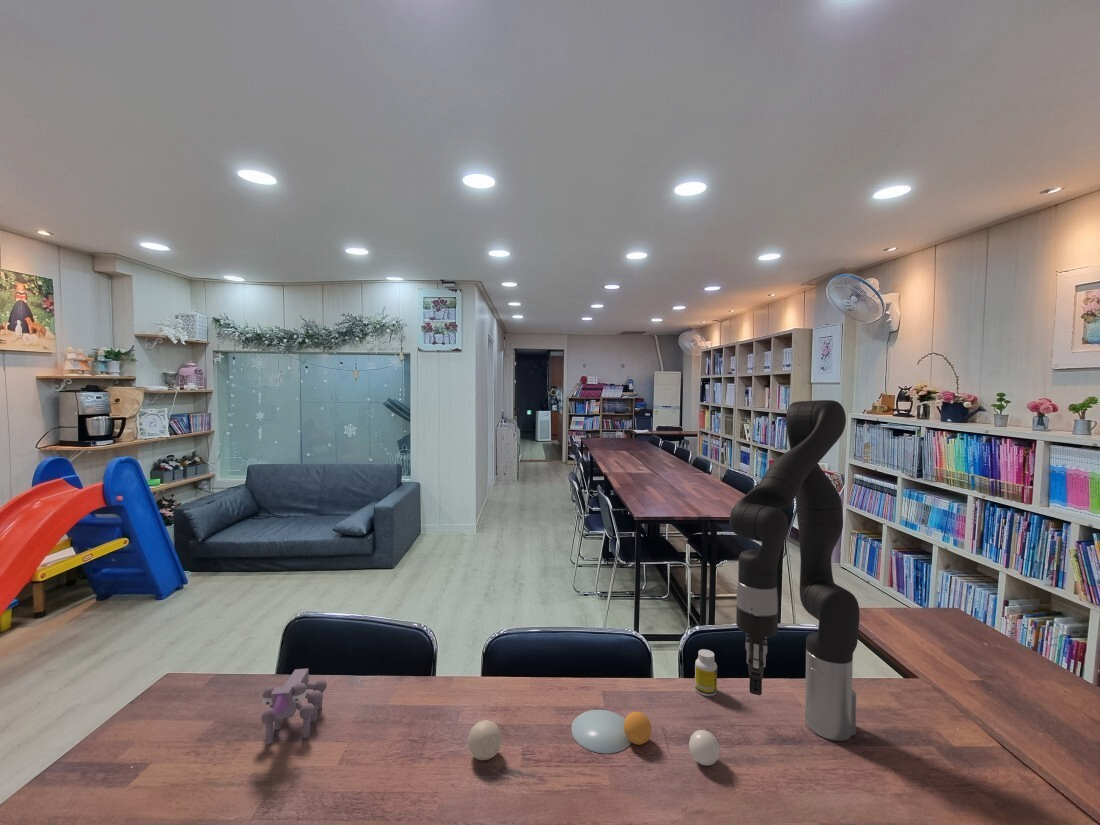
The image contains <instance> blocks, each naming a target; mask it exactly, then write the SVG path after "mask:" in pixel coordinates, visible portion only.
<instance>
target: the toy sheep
mask: <svg viewBox="0 0 1100 825" xmlns="http://www.w3.org/2000/svg"><path fill="white" fill-rule="evenodd" d="M309 676H310V675H309V668H296V669H294V670H293V672H292V673H291V675H290V677H289V678H288V680H287V681H286V683H284V684H283V685H281V686H276V685H269V686H268V687H266V688H265V689H264V690H263V692H262V703H263V704H264V705H266V706H269V708H266V709H265V710H264V711H263V712H262V714H261V716H260V719H261V723H263V724H264V725H265V745H270V744H273V743H274V731H278V730H280V729H282V719H286V718H293V717H294V715H295V714H296V712H297V711H298V712H299V717H300V719H303V720H302V738H304V739H307V738H309V737H310V734H311V733H310V731H311V723H315V721H316V720H317V721H318V713H319V712H318V711H320V710H321V708H322V709H323V695H324V692H325V691H326V690H327V686H328V684H327V681H326V680H324V679H321V678H320V679H318V680H316V681H315V682H309V681H310V680H309V678H310V677H309ZM308 690H309V691H308ZM310 690H312V691H310ZM304 699H307V700H306V701H307V703H306V704H305V703H303V701H304ZM319 709H320V710H319ZM317 721H316V722H317ZM308 736H309V737H308Z"/></svg>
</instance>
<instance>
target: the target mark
mask: <svg viewBox="0 0 1100 825" xmlns="http://www.w3.org/2000/svg"><path fill="white" fill-rule="evenodd" d="M625 718H626V717H624V716H622V715H621V714H619V713H616V712H614V711H610V710H606V709H605V710H604V709H591V710H587V711H585V712H583V713H581V714H579V715H578V716H576V717H575V718H574V720H573V721H572V724H571V734H572V737H573V738H574V740H575V742H576V743H577V744H579V745H580V746H581V747H582V748H584V749H586V750H588V751H591V752H594V753H598V754H604V755H605V754H606V755H607V754H615V753H620V752H621V751H622V752H623V751H624V750H626V749H627V748H628V747H629V746H631V744H633V743H632V742H631V741H630V740H629V739H628V738H627V737H626V735H625V732H624V721H625Z"/></svg>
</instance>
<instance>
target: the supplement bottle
mask: <svg viewBox="0 0 1100 825" xmlns="http://www.w3.org/2000/svg"><path fill="white" fill-rule="evenodd" d="M697 653H698V654H697V655H698V656H697V659H696V660H695V664H694V673H695V674H694V690H695V691H696V692H697V693H698V694H699V695H701V696H705V697H712V696H714V695H715V696H716V694H717V690H718V689H717V688H718V686H717V684H718V679H717V678H718V665H717V663H716V661H715V653H714V652H713V651H711V650H709V649H703V648H702V649H699V650H698V652H697Z"/></svg>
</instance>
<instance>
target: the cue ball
mask: <svg viewBox="0 0 1100 825" xmlns="http://www.w3.org/2000/svg"><path fill="white" fill-rule="evenodd" d="M688 746H689V752H690V754H691V756H692V758H693V759H694V760H695V761H696V762H697V763H698V764H700V765H701V766H712V765H714V764H715V763H716V762H717V761H718V760H719V758H720V745H719V741H718V740H717V738H716V736H714V734H712V732H710V731H708V730H704V729H698V730H696V731H694V732H693V733H692V735H691V736H690V738H689V744H688Z"/></svg>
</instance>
